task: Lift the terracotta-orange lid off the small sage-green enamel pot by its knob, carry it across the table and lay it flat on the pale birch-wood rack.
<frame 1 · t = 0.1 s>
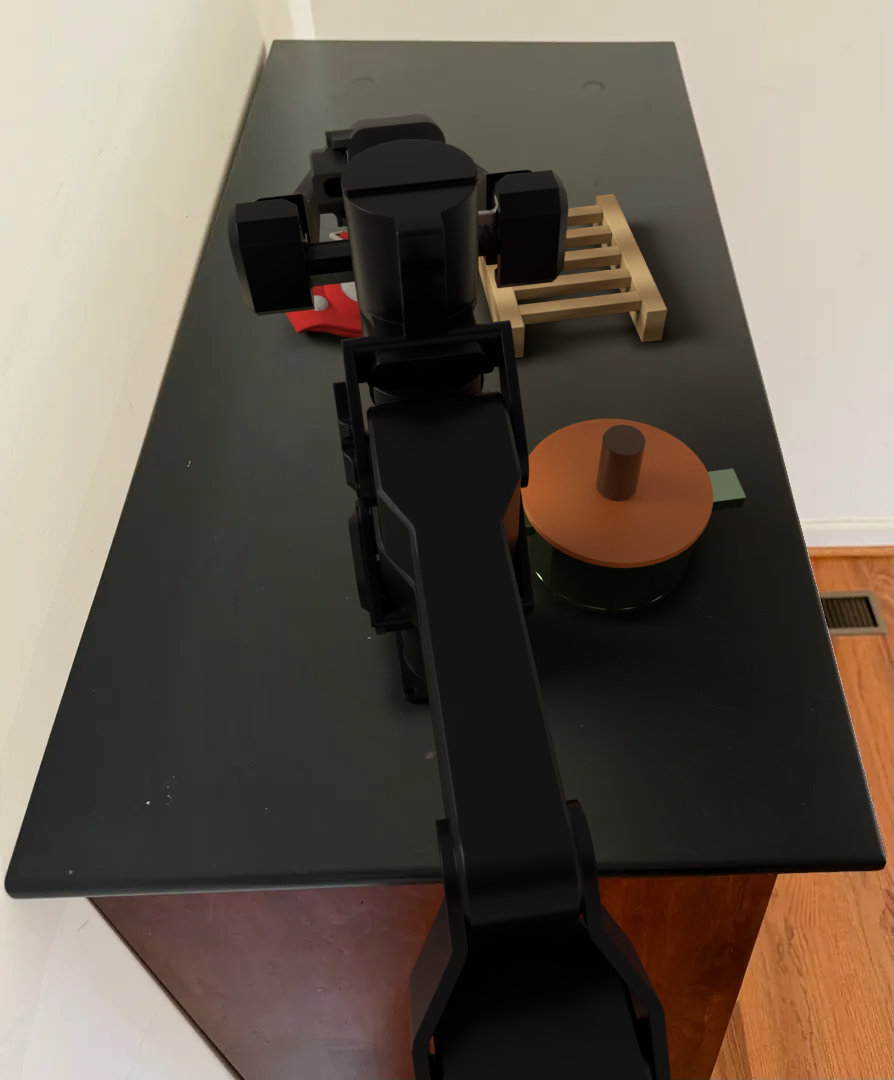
hand: (387, 168, 57), 17 cm above the table, tool horizontal, fingers open, 9 cm apart
rack: (560, 287, 76), on the table
pot: (605, 546, 59), on the table
lid: (615, 491, 55), point 5 cm above the table, touching pot
tracker holder: (356, 305, 75), on the table
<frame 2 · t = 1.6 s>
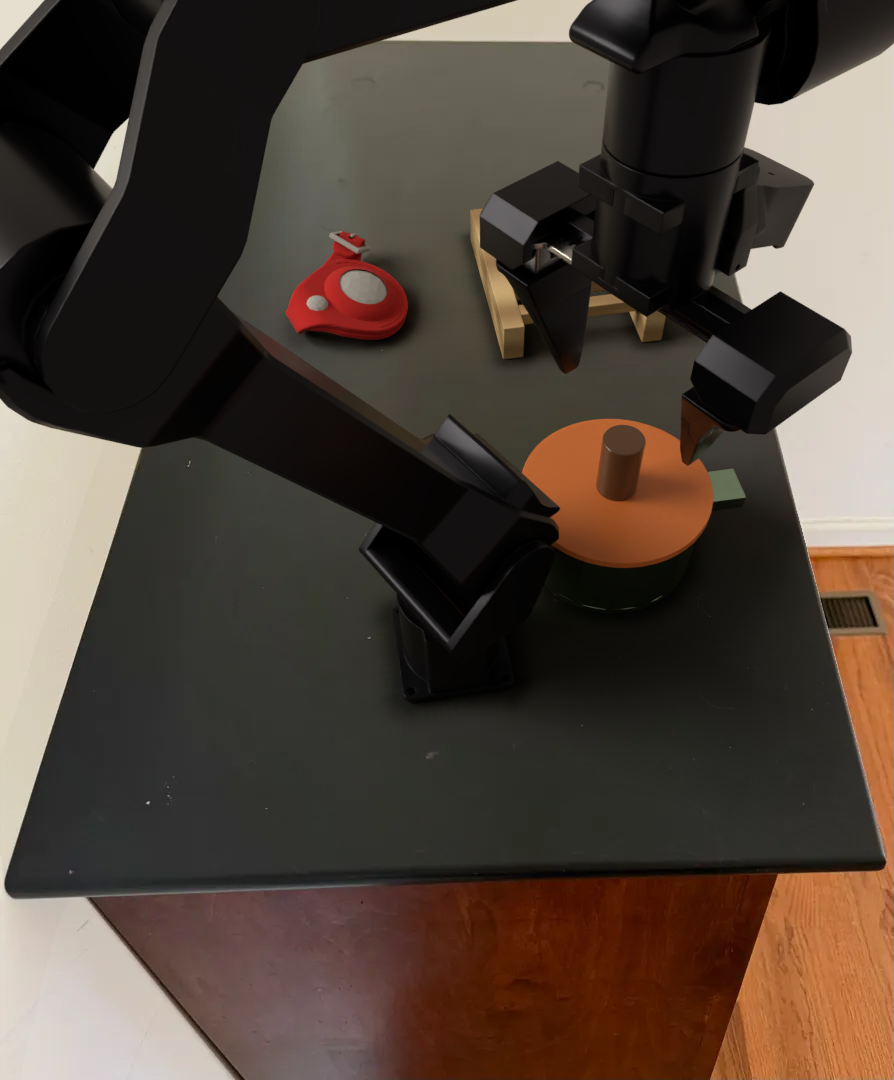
hand: (627, 412, 50), 12 cm above the table, tool pointing down, fingers open, 9 cm apart
nothing on the table moved.
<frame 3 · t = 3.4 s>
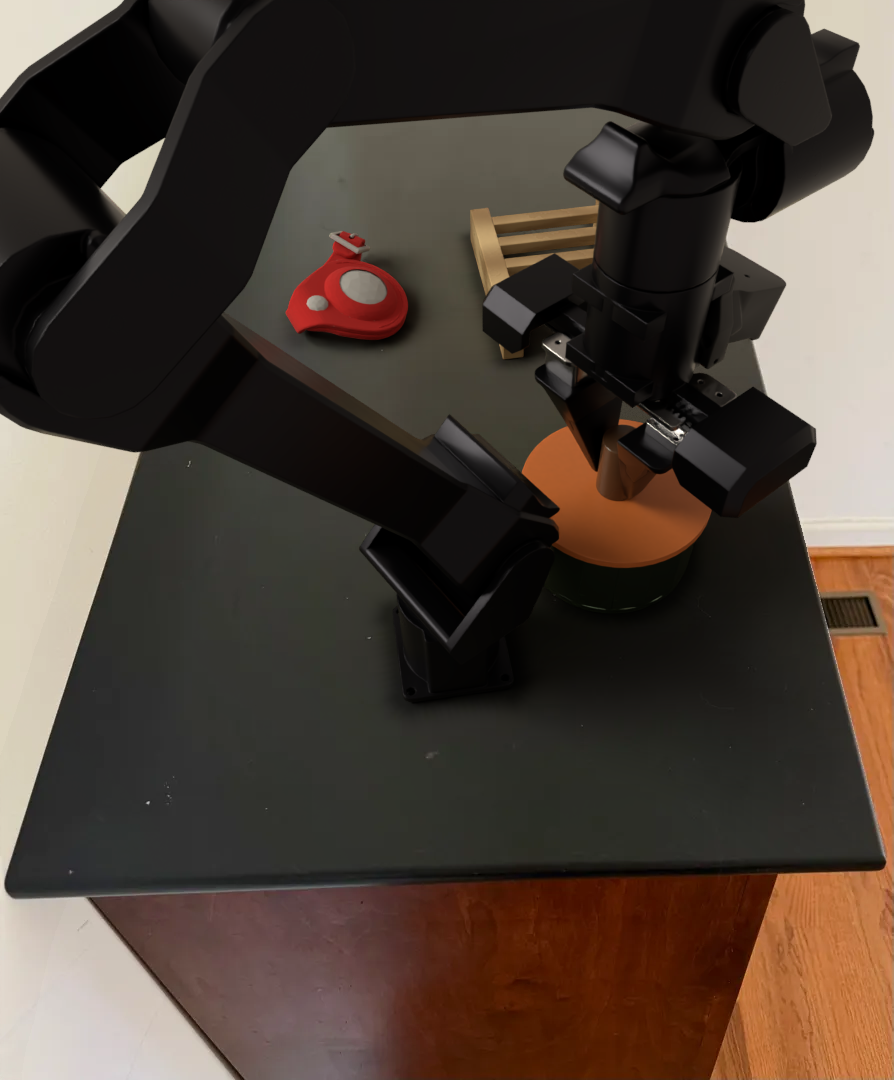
hand: (616, 480, 54), 7 cm above the table, tool pointing down, fingers closed on lid, 2 cm apart
lid: (615, 491, 55), point 6 cm above the table, touching gripper, pot
everything else where it was.
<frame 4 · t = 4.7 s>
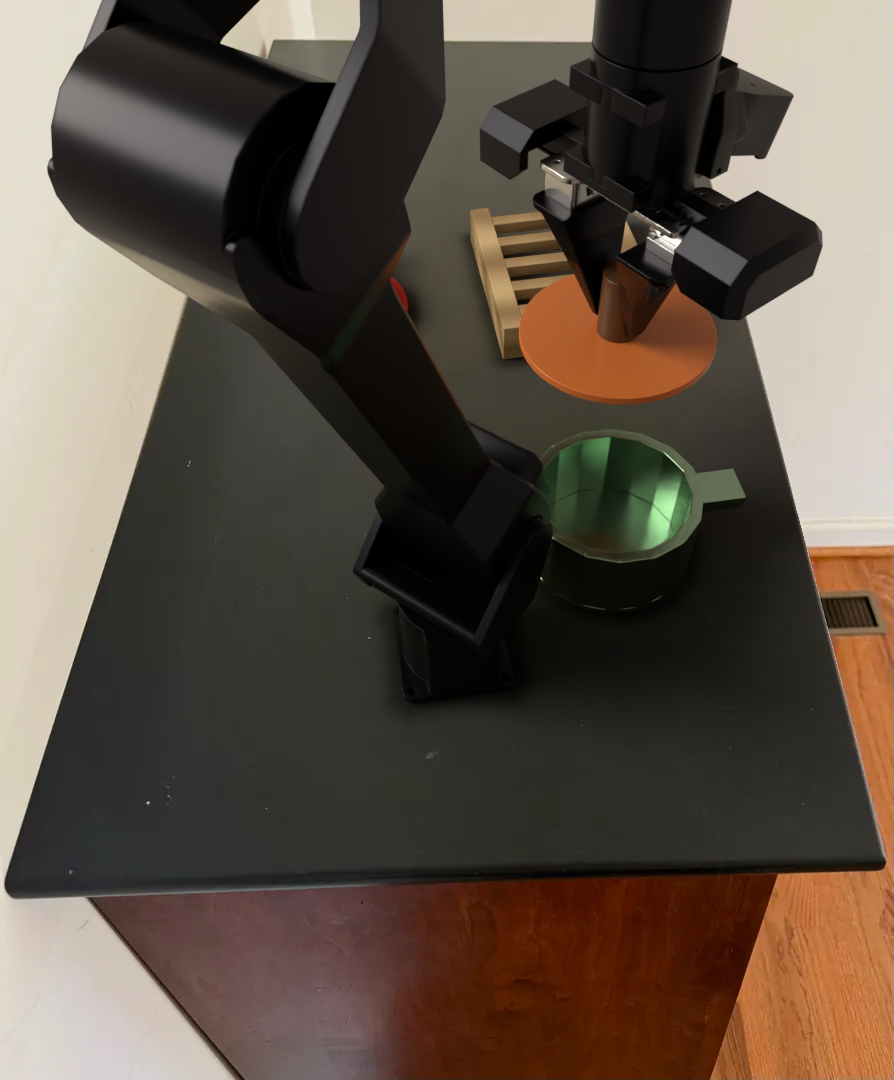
hand: (617, 323, 52), 13 cm above the table, tool pointing down, fingers closed on lid, 2 cm apart
lid: (616, 336, 53), point 12 cm above the table, touching gripper
everything else where it was.
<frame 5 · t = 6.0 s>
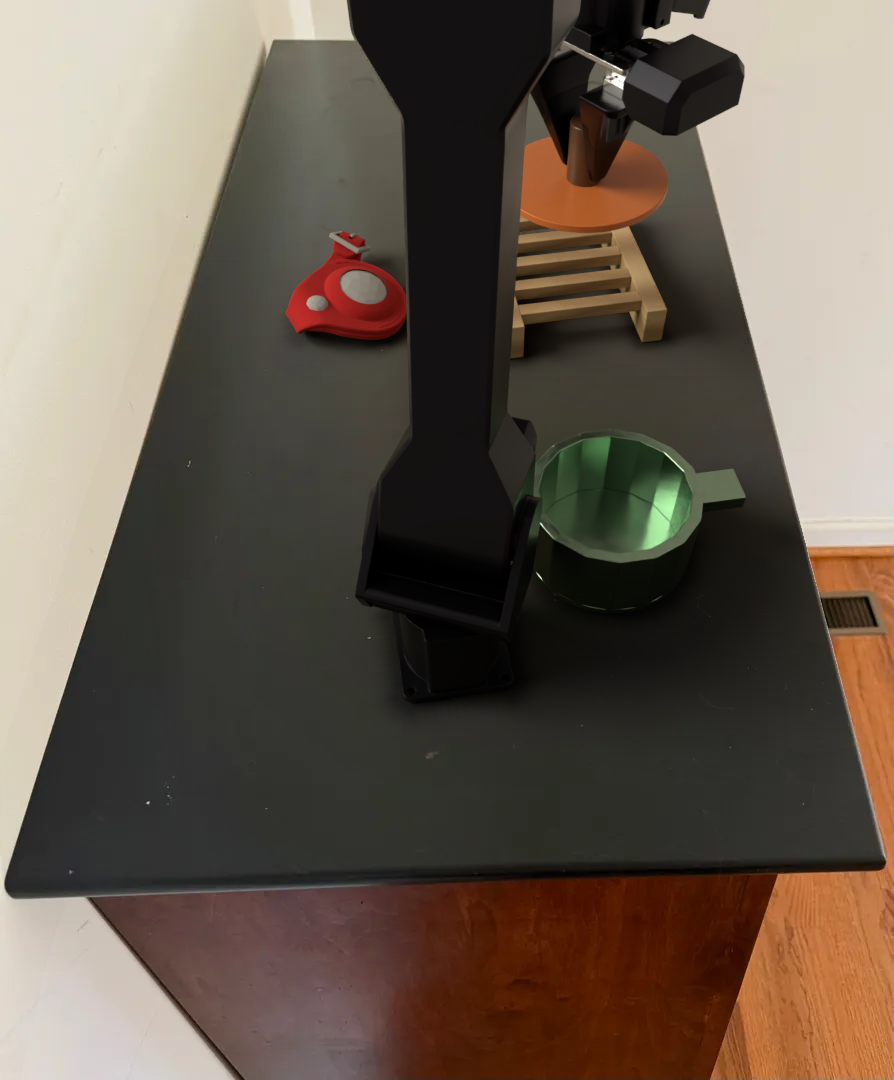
hand: (583, 171, 62), 13 cm above the table, tool pointing down, fingers closed on lid, 2 cm apart
lid: (583, 183, 63), point 12 cm above the table, touching gripper
everything else where it was.
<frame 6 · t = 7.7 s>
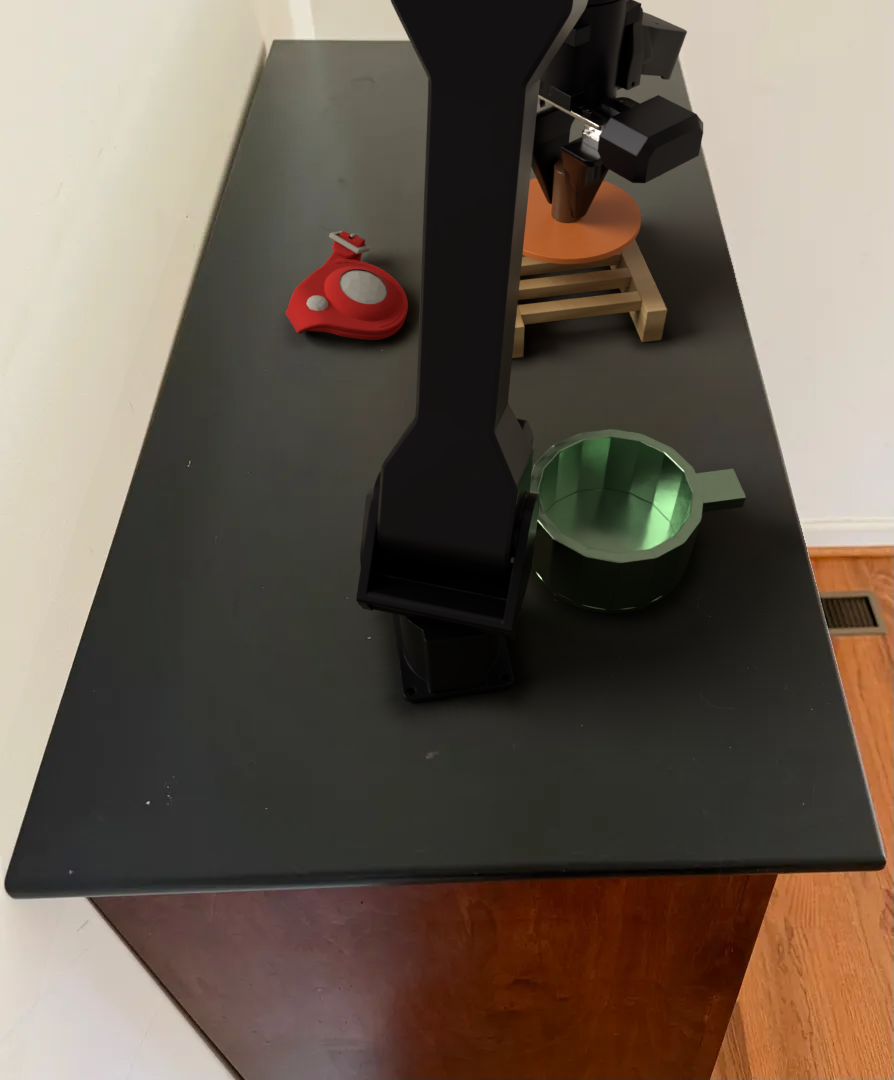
hand: (566, 209, 70), 7 cm above the table, tool pointing down, fingers closed on lid, 2 cm apart
lid: (566, 220, 71), point 6 cm above the table, touching gripper
everything else where it was.
when the fingers open (5 cm above the table, at t = 8.6 s): lid stays where it is, resting on rack.
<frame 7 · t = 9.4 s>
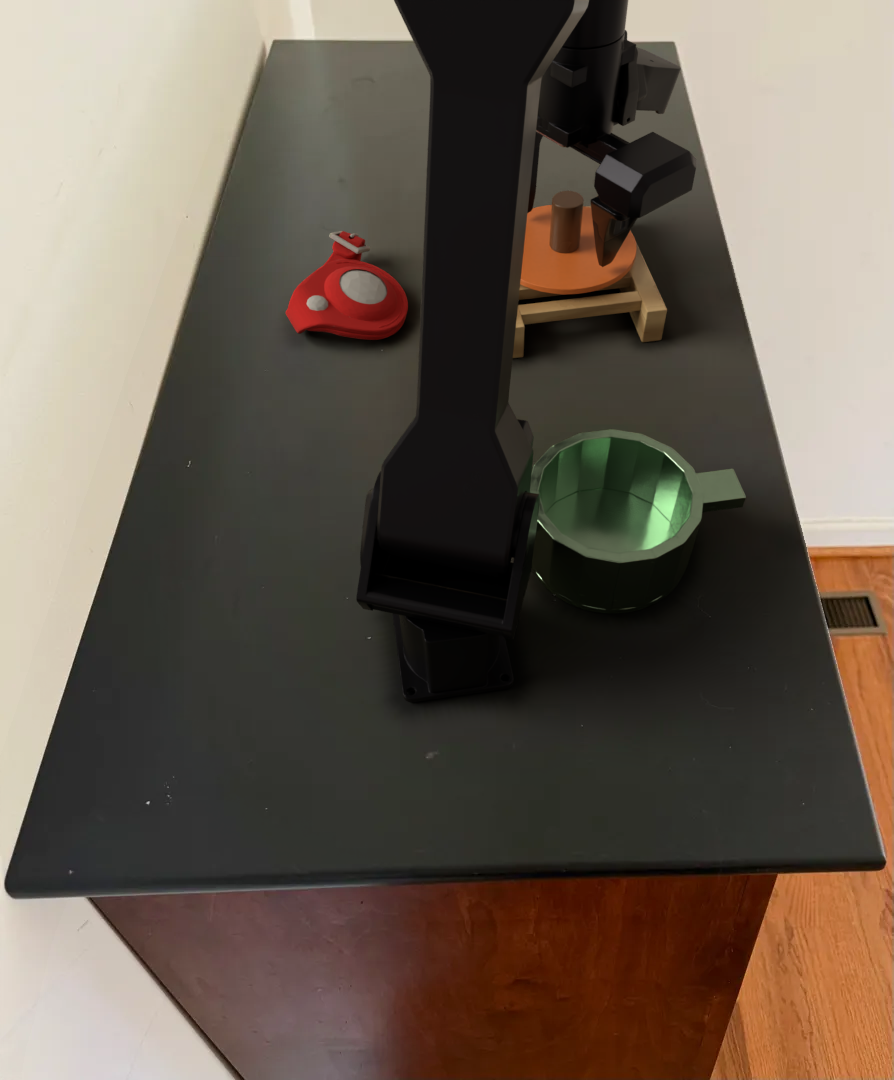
hand: (564, 237, 72), 5 cm above the table, tool pointing down, fingers open, 9 cm apart
lid: (563, 250, 73), point 4 cm above the table, touching rack
everything else where it was.
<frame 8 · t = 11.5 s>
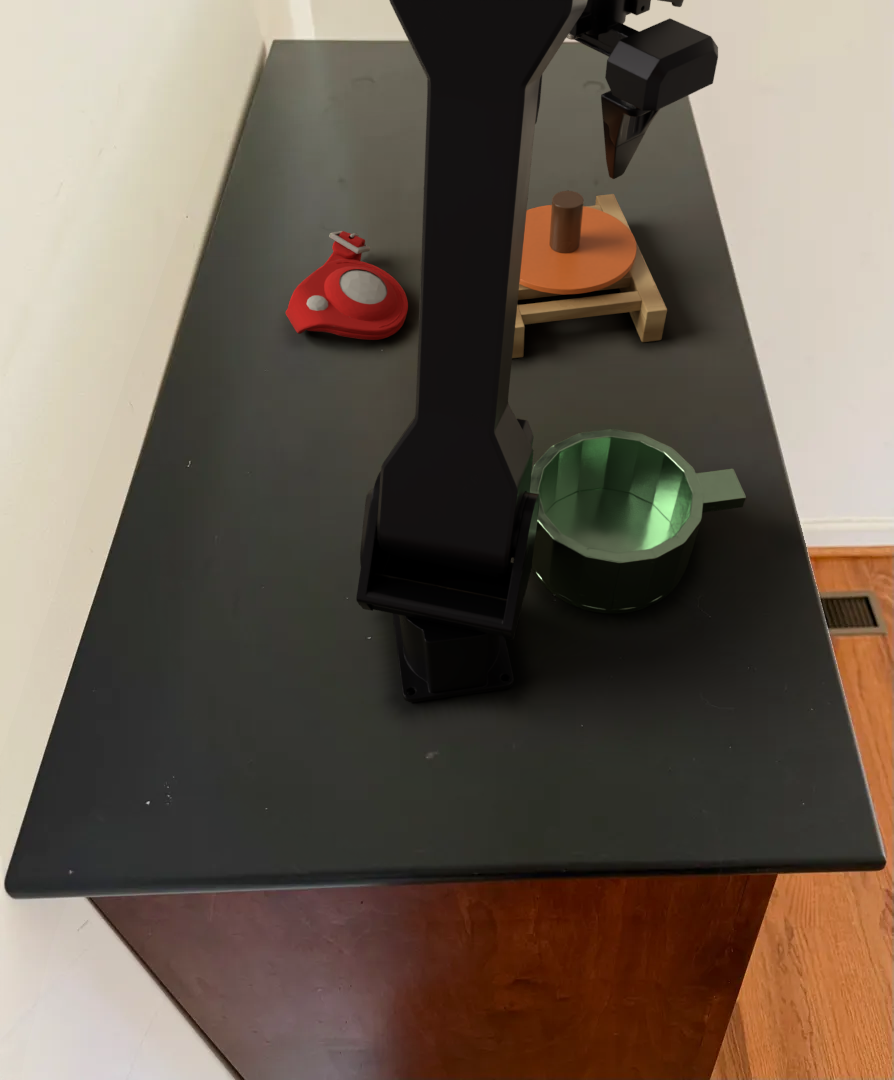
hand: (571, 150, 66), 12 cm above the table, tool pointing down, fingers open, 9 cm apart
nothing on the table moved.
at the end: lid inside the target area on the rack (0.0 cm from its centre), point 3.6 cm above the rack's base; lid tilted 0°; the gripper is holding nothing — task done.
